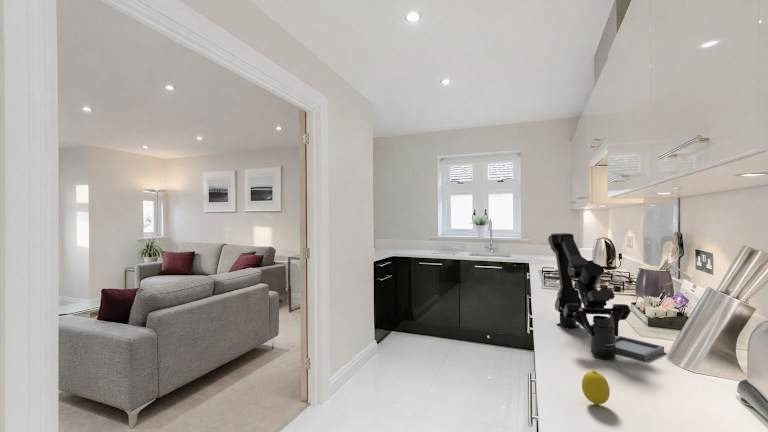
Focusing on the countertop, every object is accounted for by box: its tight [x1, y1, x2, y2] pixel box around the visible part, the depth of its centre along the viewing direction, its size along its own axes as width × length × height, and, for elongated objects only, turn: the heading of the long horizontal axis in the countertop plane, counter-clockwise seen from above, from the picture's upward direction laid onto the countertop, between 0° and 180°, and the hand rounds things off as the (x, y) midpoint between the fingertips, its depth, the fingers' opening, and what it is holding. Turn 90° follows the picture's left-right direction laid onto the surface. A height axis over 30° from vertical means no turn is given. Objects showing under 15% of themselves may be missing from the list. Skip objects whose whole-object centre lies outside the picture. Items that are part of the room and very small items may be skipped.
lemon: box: [581, 370, 611, 406], centre depth 78 cm, size 6×6×8 cm
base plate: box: [615, 335, 665, 362], centre depth 110 cm, size 13×13×2 cm
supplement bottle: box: [589, 315, 617, 360], centre depth 106 cm, size 7×7×12 cm
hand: (604, 335), depth 104 cm, fingers closed on supplement bottle, 7 cm apart
